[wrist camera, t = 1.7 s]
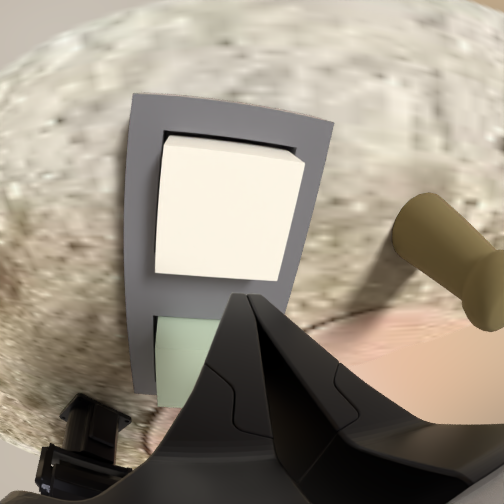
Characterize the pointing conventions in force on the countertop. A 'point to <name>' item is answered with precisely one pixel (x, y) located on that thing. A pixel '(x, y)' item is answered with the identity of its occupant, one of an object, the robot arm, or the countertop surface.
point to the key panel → (146, 211)
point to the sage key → (180, 356)
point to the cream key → (225, 208)
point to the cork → (453, 257)
